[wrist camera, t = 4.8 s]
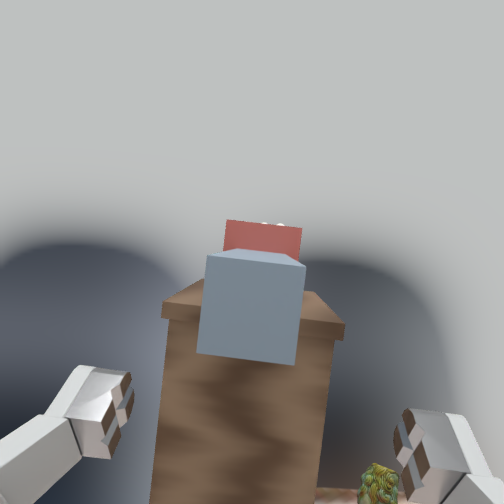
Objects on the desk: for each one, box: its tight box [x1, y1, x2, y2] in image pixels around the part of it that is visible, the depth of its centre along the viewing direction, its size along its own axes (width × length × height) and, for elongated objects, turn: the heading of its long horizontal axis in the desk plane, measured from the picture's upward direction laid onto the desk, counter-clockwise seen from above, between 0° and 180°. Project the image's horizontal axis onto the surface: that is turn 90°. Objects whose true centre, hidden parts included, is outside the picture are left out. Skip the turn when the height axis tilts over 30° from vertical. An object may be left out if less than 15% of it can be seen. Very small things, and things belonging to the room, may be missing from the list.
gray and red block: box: [196, 220, 306, 365], centre depth 21 cm, size 18×6×6 cm, turn 178°
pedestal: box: [149, 279, 345, 504], centre depth 27 cm, size 11×13×26 cm
